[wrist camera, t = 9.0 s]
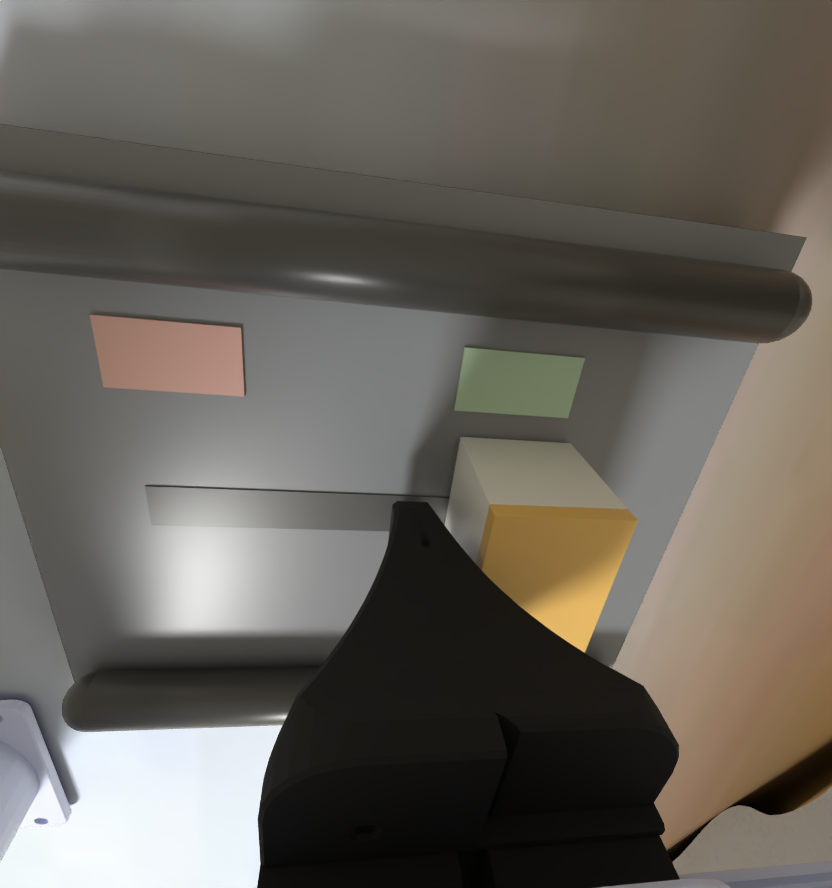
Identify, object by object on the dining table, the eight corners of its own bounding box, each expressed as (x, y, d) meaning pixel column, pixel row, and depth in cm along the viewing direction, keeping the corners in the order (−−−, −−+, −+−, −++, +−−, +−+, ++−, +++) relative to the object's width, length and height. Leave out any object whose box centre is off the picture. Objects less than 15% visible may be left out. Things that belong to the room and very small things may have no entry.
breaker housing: (111, 654, 17) (54, 760, 14) (-22, 124, 10) (-204, 90, 7) (578, 648, 20) (621, 735, 16) (743, 232, 13) (874, 243, 9)
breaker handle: (434, 584, 14) (454, 687, 11) (460, 436, 12) (494, 515, 9) (528, 585, 15) (572, 684, 12) (570, 443, 12) (638, 520, 9)
